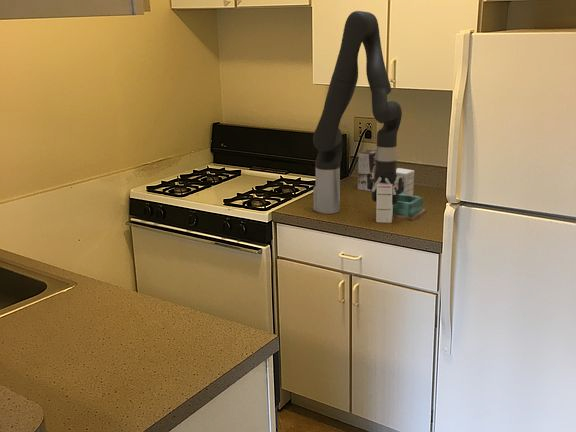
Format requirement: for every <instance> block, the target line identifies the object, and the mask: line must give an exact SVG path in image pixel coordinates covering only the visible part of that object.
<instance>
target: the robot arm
mask: <svg viewBox="0 0 576 432" xmlns="http://www.w3.org/2000/svg"><path fill="white" fill-rule="evenodd" d="M347 16H348V17H347V18H346V20H345V22H344V23H345V24H344V28H343V31H342V32H343V34H342V38H341V43H340V48H339V51H338V52H339V53H338V55H337V59H336V62H335V66H334V70H333V73H332V75H331V78H330V82H329V87H328V89H327V93H326V98H325V99H324V100H325V101H324V105H323V110H322V113H321V116H320V118H319V120H318V123H317V126H316V127H315V130H314V132H313V136H312V142H313V145H314V147H315V149H317V150H318V151H317V152H318V153H317V157H316V160H315V186H313V198H312V199H313V203H312V204H313V205H312V206H313V211H315V212H317V213H319V214H327V215H328V214H336V213H339V212H340V205H341V204H340V195H341V194H340V190H341V189H340V183H341V181H340V180H341V179H340V178H341V177H340V175H341V172H340V171H341V160H342V156H343V155H342V151H343V149H342V148H343V135H342V131H341V129H340V128H339V127H340V123H341V119H342V118H343V116H344V114H345V111H346V110H347V108H348V106H349V104H350V102H351V101H352V98H353V95H354V92H355V90H356V86H357V83H358V79H359V63H358V60H359V59H358V58H359V52H360V48H361V46H362V45H363V49H364V51H365V56H366V60H365V61H366V63H365V65H366V67H365V70H366V79H367V82H368V86H369V89H370V92H371V108H372V110H371V111H372V115H373V117H374V119H375V121H377V122H378V123H379V124H383V126H382V127H381V128H380V129H379V130H378V131H377V133H376V147H375V148H376V149H375V150H376V162H375V171H376V172H375V173H372V172H370V173H368V174H367V189H370V190H371V191H370V192H371V199H372V201H373V202H375V203H376V200H377V184H378V183H387V184H390V185H392V184H393V186H392V193H393V195H392V205H395V204H396V203H397V202H398V194H401V193H402V192H403V191H404V179H405V178H404V177H403V176H402V177H398V176H397V175H396V169H397V168H398V167H397V164H398V163H397V162H398V161H397V159H398V149H397V146H398V145H397V143H398V142H397V140H398V131H399V128H400V124H401V122H402V116H403V112H402V111H403V109H402V107H401V104H400V103H398V102H397V101H394V100H391V101H388V95H389V94H391V92H392V85H391V83H390V79H389V75H388V71H387V68H386V64H385V60H384V56H383V49H382V43H381V37H380V36H381V35H380V34H381V33H380V27H379V22H378V18H377V17H376V16H375V15H374V14H373V13H371V12H368V11H362V10H355V11H352V12H351V13H350V14H349V15H347ZM374 177H375V179H376V180H377V181H376V183H375V185H374V186H373V178H374ZM395 180H397V182H398V189H397V186H396V183H395Z"/></svg>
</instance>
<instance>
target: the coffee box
mask: <svg viewBox="0 0 576 432" xmlns="http://www.w3.org/2000/svg"><path fill="white" fill-rule="evenodd" d="M375 162H376V149H366V150H363V151H361V152H359V153H358V163H357V164H358V165H357V166H358V169H357V170H358V172H357V190H360V191H367V192H372V191H371V190H370V189H367V174H368V173H370V172H372V173H375V172H376V171H375ZM376 181H377V180H376V179H375V177H374V178H373V186H374V185H375V183H376Z"/></svg>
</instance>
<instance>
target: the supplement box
mask: <svg viewBox="0 0 576 432" xmlns="http://www.w3.org/2000/svg"><path fill="white" fill-rule="evenodd" d="M396 175H397V176H398V177H402V176H403V177H404V178H405V179H404V191H403V192H402V193H401V194H404V195H411V196H414V186H415V185H414V183H415V182H414V181H415V170H413V169H408V168H402V167H396ZM395 183H396V186H397V189H398V182H397V180H395Z"/></svg>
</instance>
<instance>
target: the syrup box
mask: <svg viewBox="0 0 576 432" xmlns="http://www.w3.org/2000/svg"><path fill="white" fill-rule="evenodd" d="M392 186H393V184H392V185H390V184H387V183H378V184H377V200H376V202H375V203H376V204H375V205H376V209H375V212H376V216H375V217H376V223H383V224H384V223H386V224H387V223H388V224H391V223H392V222H393V219H394V218H393V205H392V195H393V193H392Z"/></svg>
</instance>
